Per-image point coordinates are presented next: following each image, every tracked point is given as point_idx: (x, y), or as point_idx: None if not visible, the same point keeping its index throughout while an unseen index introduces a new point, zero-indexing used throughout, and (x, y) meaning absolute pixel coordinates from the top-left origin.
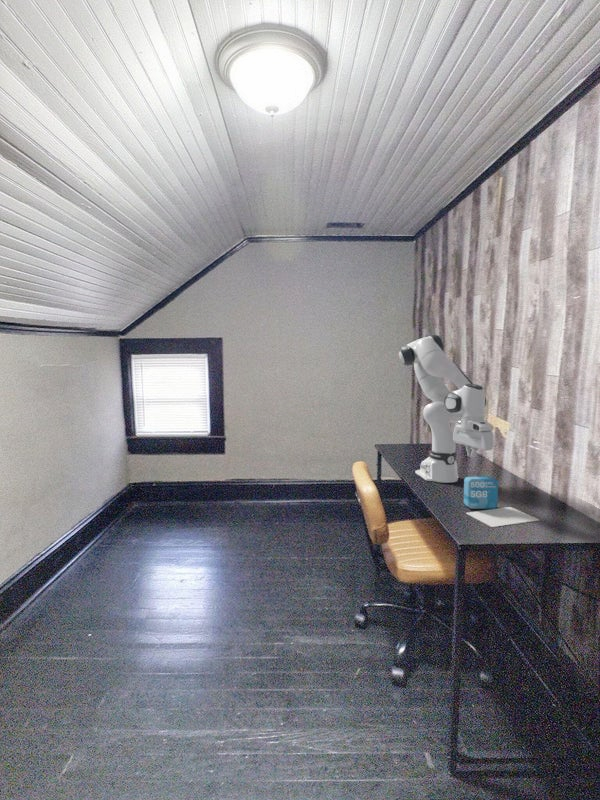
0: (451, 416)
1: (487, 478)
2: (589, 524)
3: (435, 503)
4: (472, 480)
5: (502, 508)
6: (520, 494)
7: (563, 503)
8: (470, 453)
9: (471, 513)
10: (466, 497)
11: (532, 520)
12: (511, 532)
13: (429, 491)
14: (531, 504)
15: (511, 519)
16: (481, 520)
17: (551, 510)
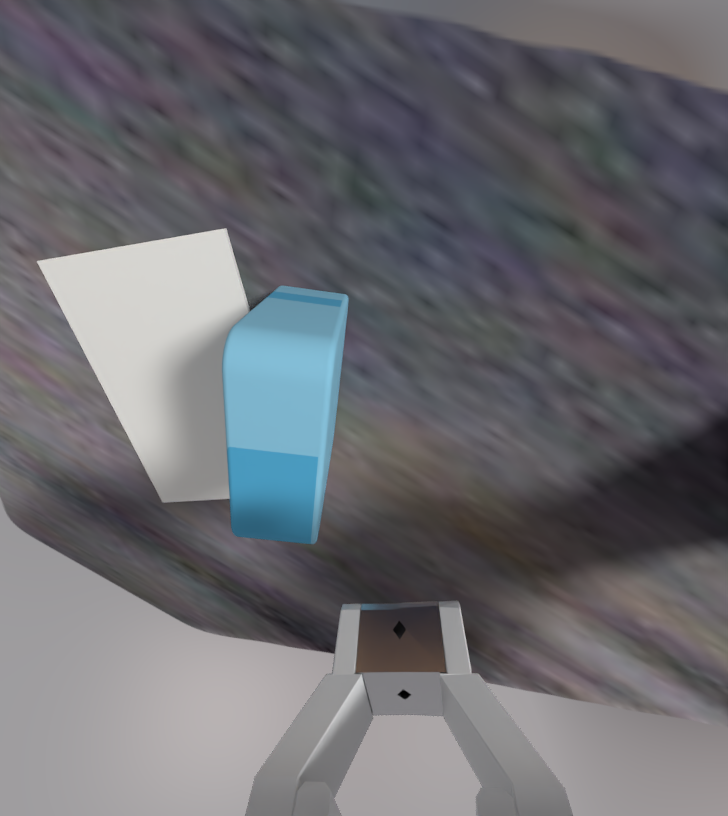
0: None
1: (250, 498)
2: (150, 597)
3: (425, 98)
4: (223, 366)
5: None
6: None
7: (327, 649)
8: (379, 659)
9: (214, 259)
10: (298, 297)
11: (151, 475)
12: (6, 318)
13: (681, 198)
14: (329, 573)
15: (150, 408)
16: (113, 254)
17: (266, 588)
